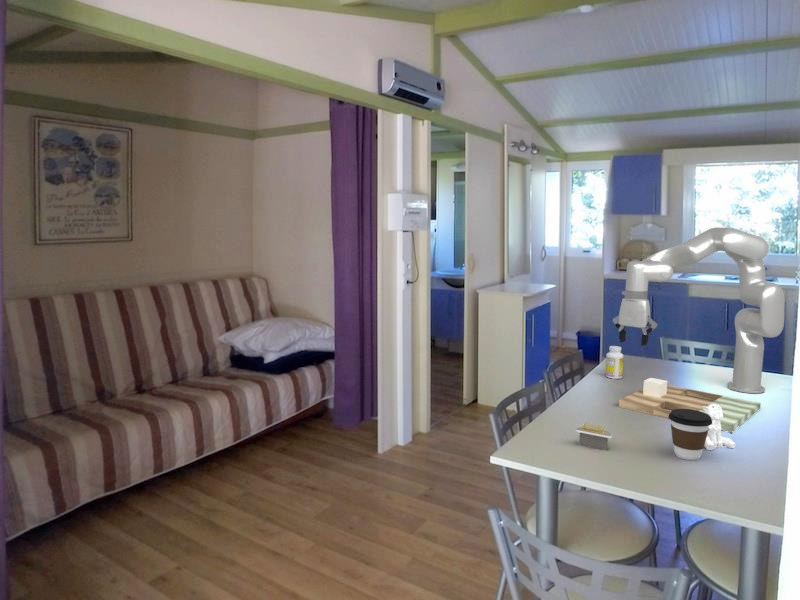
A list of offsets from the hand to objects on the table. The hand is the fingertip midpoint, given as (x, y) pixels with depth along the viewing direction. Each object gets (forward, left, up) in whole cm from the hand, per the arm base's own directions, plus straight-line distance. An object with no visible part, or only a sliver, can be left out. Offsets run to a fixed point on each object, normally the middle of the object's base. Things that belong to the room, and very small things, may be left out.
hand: (633, 343), depth 222 cm
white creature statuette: (+31, +38, -20) cm, 53 cm away
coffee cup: (+45, +36, -20) cm, 61 cm away
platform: (+57, +14, -21) cm, 62 cm away
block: (0, +9, -17) cm, 20 cm away
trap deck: (0, +21, -20) cm, 29 cm away
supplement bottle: (-21, -16, -20) cm, 33 cm away
